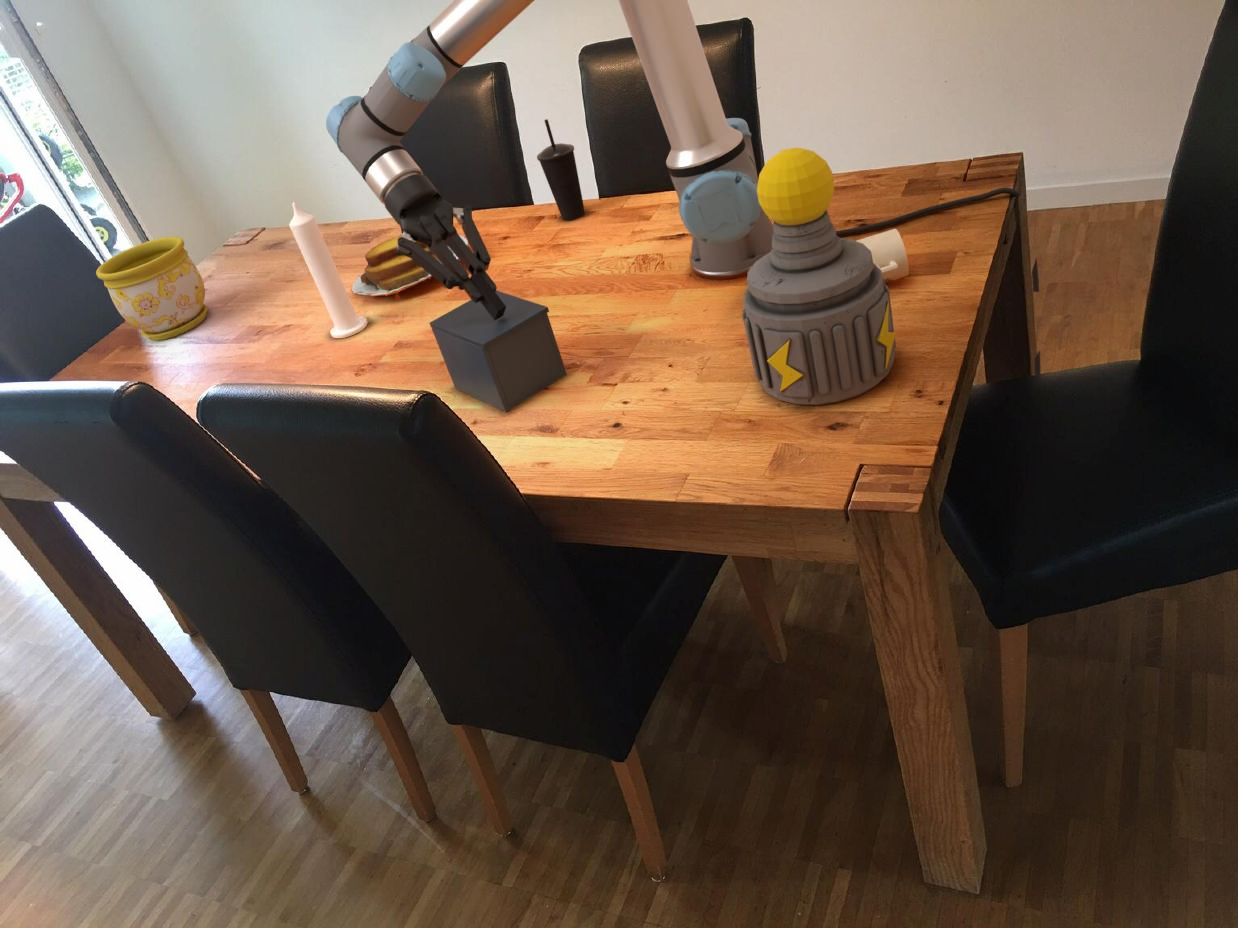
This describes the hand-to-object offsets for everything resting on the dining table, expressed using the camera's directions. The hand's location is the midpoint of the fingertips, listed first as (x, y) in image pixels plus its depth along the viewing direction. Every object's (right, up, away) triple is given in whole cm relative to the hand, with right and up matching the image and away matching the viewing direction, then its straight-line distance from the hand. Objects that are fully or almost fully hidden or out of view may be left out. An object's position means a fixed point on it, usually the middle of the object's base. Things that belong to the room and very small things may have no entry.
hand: (500, 313), depth 146 cm
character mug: (+46, +6, +6) cm, 46 cm away
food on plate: (-24, +16, +60) cm, 67 cm away
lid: (-2, 0, +4) cm, 5 cm away
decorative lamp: (+44, -9, -10) cm, 46 cm away
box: (0, -9, +10) cm, 14 cm away
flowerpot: (-77, +8, +71) cm, 105 cm away
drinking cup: (+8, +29, +65) cm, 72 cm away
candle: (-33, +3, +45) cm, 56 cm away
